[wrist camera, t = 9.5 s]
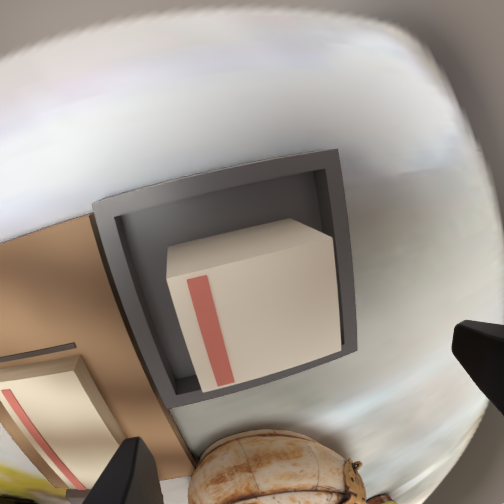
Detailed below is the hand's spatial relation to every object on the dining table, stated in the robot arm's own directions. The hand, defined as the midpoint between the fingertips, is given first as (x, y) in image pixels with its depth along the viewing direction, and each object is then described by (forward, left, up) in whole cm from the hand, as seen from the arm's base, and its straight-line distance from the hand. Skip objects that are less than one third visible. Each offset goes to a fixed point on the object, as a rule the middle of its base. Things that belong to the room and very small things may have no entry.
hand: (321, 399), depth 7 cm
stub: (0, 0, -9) cm, 9 cm away
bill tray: (0, 0, -10) cm, 10 cm away
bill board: (-4, +12, -10) cm, 16 cm away
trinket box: (-18, +1, -10) cm, 21 cm away
